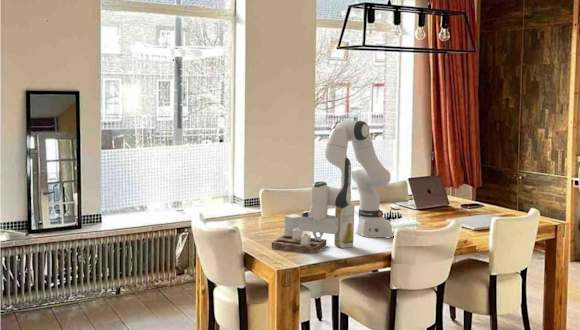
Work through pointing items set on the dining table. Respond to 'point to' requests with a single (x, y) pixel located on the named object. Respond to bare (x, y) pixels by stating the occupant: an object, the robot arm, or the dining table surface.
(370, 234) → the robot arm
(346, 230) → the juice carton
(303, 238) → the tab
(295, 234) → the tab
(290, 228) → the supplement box
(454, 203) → the dining table surface
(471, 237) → the dining table surface
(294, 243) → the switch board
